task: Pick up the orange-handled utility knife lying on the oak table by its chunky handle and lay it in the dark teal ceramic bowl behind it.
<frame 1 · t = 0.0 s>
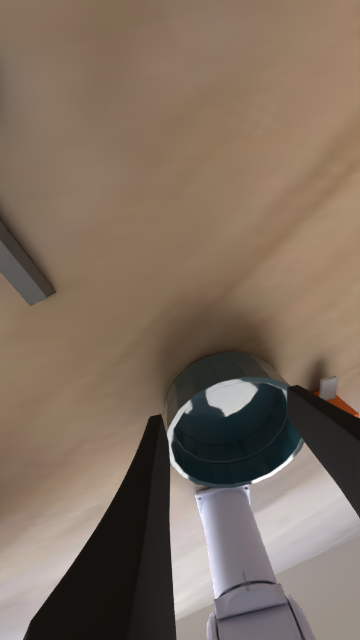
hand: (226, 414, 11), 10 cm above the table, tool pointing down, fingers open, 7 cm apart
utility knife: (317, 400, 25), on the table
bowl: (223, 401, 23), on the table
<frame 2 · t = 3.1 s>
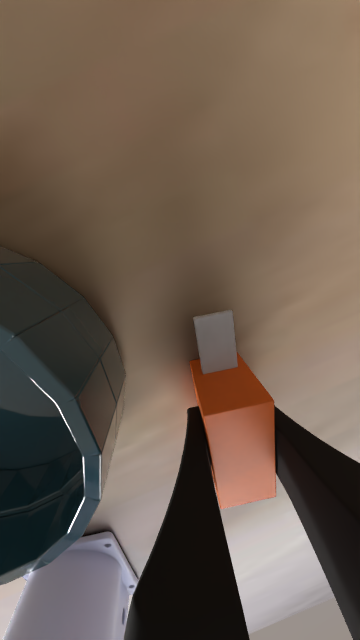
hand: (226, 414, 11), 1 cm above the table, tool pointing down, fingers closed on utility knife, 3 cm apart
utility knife: (216, 377, 12), on the table, touching gripper
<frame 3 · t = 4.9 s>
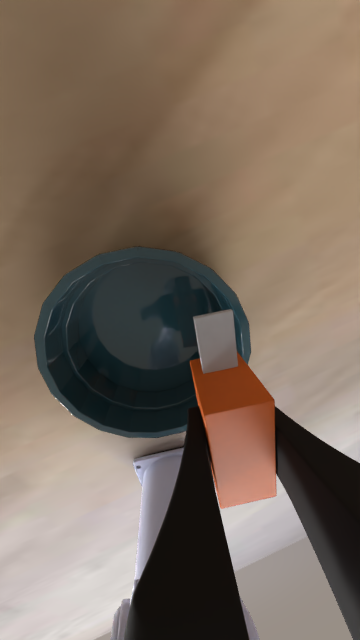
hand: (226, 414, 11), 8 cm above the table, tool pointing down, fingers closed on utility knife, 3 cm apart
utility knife: (216, 376, 12), point 7 cm above the table, touching gripper
bowl: (152, 331, 18), on the table
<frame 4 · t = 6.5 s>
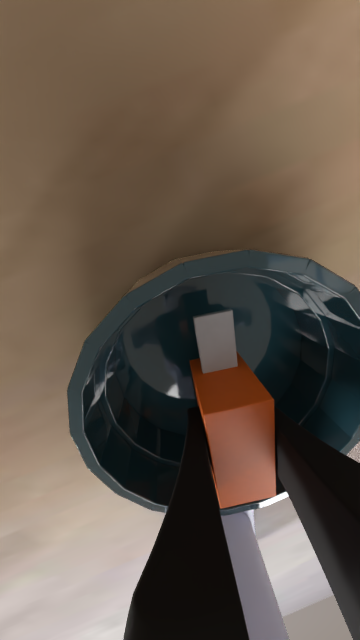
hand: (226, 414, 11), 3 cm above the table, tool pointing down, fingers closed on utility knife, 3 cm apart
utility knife: (215, 376, 12), point 2 cm above the table, touching gripper
bowl: (209, 360, 13), on the table
when the fingers open (2 cm above the table, at t = 7.2 s): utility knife stays where it is, resting on bowl.
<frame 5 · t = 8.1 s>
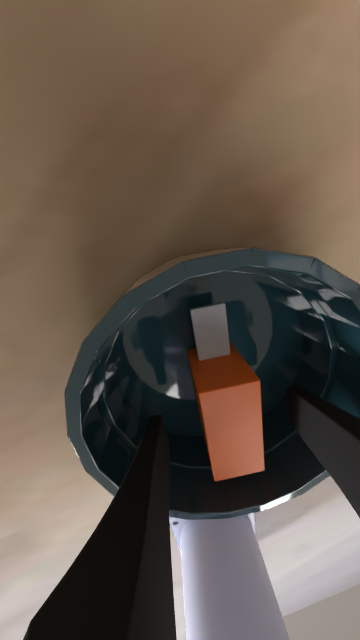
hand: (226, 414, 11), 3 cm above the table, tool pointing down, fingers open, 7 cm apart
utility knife: (211, 365, 13), point 1 cm above the table, touching bowl
bowl: (209, 361, 13), on the table
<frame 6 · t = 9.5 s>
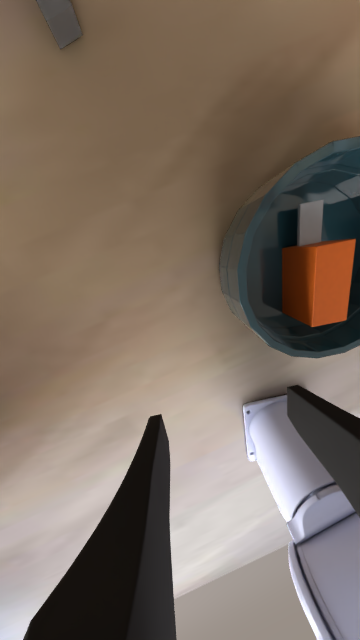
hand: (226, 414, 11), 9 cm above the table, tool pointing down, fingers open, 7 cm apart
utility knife: (296, 262, 17), point 1 cm above the table, touching bowl
bowl: (292, 263, 18), on the table
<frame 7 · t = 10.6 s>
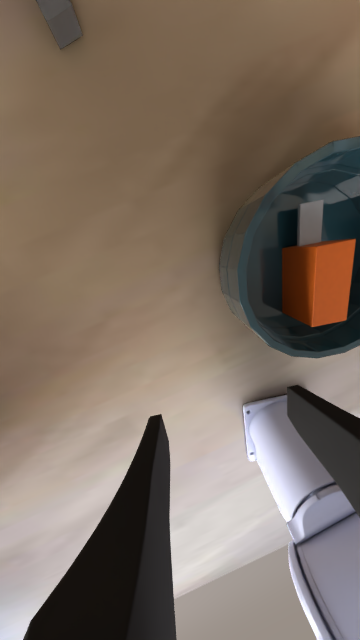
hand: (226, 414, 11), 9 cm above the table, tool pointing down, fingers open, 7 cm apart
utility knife: (296, 262, 17), point 1 cm above the table, touching bowl
bowl: (292, 263, 18), on the table
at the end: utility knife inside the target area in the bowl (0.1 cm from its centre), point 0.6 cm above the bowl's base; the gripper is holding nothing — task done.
